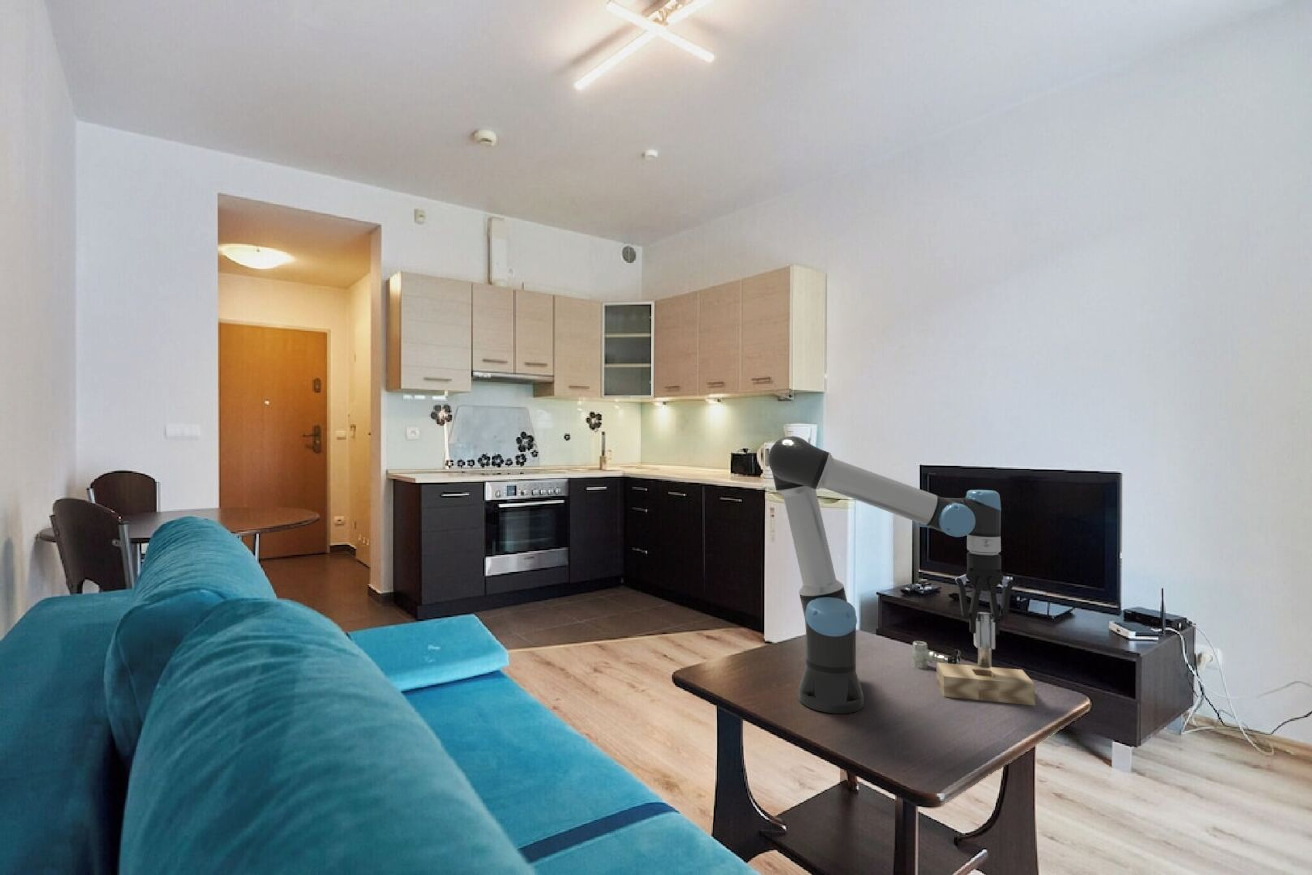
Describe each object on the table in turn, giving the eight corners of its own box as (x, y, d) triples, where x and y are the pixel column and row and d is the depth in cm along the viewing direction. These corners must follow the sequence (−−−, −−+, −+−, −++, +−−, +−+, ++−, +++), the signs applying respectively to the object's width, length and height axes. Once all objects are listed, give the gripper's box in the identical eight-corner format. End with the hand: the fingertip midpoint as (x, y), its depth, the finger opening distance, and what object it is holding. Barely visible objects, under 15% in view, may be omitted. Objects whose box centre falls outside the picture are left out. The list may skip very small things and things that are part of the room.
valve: (908, 668, 175) (956, 678, 168) (909, 644, 175) (956, 653, 168) (915, 661, 181) (961, 670, 174) (915, 638, 181) (961, 646, 174)
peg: (979, 667, 157) (979, 614, 157) (976, 663, 160) (976, 611, 160) (992, 668, 156) (992, 615, 156) (989, 664, 159) (989, 612, 159)
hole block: (943, 696, 156) (943, 676, 156) (936, 681, 165) (936, 662, 165) (1035, 705, 151) (1035, 684, 151) (1022, 689, 160) (1022, 669, 160)
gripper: (952, 553, 156) (953, 648, 156) (1023, 556, 152) (1024, 654, 152) (946, 548, 164) (947, 639, 163) (1014, 551, 160) (1015, 644, 160)
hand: (984, 646), depth 158 cm, fingers closed on peg, 3 cm apart
